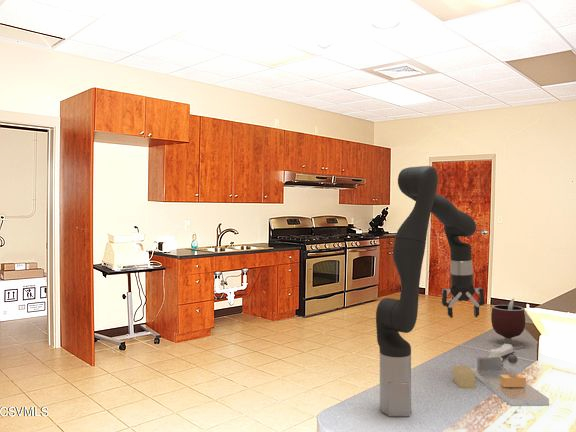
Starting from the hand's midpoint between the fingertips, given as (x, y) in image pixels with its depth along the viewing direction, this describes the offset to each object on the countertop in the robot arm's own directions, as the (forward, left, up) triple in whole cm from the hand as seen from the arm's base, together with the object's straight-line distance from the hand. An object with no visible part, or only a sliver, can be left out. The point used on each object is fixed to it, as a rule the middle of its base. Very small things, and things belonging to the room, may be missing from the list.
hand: (463, 317), depth 168 cm
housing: (-5, +2, -22) cm, 23 cm away
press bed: (-9, -11, -22) cm, 26 cm away
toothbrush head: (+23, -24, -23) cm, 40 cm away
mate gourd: (+43, -37, -22) cm, 61 cm away
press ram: (-14, -11, -20) cm, 26 cm away
